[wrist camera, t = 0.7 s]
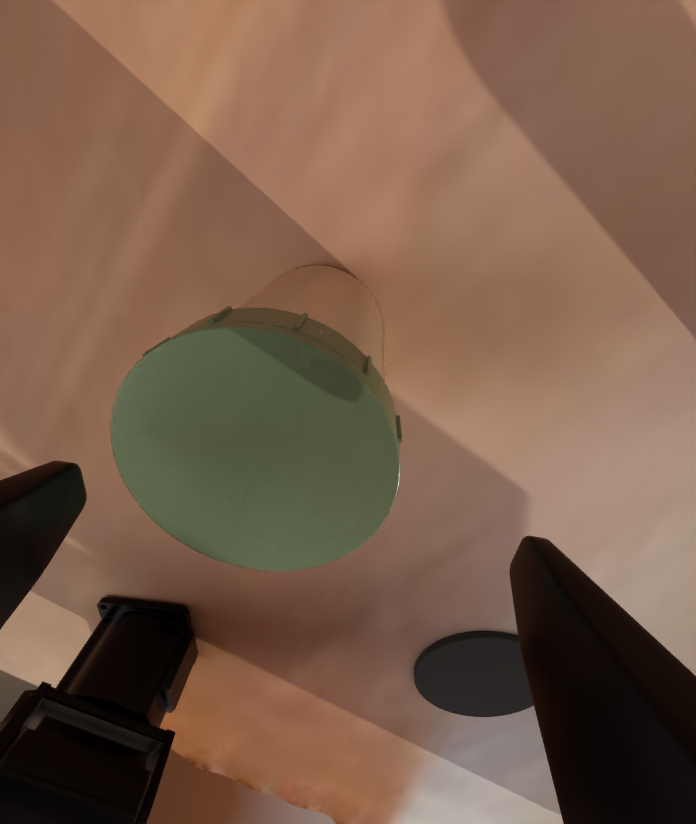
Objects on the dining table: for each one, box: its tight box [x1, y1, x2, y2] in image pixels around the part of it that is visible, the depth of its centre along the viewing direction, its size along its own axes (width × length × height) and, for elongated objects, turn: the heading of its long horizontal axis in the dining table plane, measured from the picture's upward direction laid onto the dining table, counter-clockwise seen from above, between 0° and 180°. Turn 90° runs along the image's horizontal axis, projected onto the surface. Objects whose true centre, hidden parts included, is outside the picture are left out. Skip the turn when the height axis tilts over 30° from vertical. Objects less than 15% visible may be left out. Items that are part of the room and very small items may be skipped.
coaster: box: [414, 631, 534, 717], centre depth 30 cm, size 10×10×1 cm
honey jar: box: [237, 265, 385, 382], centre depth 14 cm, size 6×6×10 cm
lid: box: [111, 306, 402, 571], centre depth 10 cm, size 7×7×2 cm
